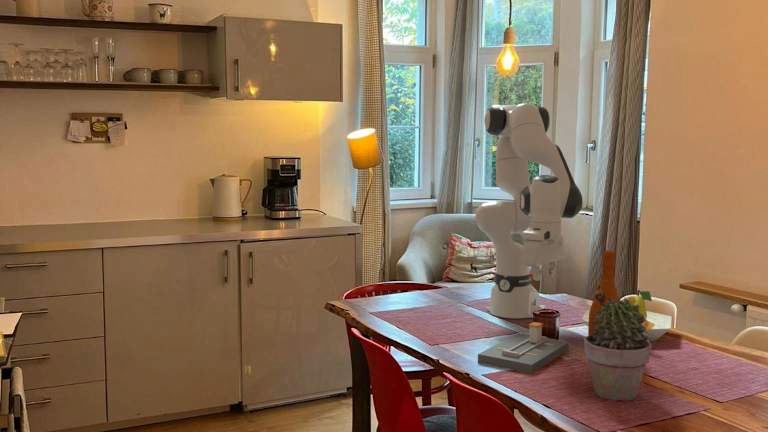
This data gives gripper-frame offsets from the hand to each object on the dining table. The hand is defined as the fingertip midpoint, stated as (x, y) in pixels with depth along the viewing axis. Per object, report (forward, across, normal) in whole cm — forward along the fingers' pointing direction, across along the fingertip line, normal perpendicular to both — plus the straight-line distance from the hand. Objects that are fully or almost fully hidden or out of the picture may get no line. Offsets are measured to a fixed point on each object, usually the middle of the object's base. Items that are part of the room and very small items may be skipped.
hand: (544, 277), depth 226 cm
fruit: (+20, -28, +16) cm, 38 cm away
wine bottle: (+21, -3, +18) cm, 28 cm away
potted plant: (+21, +27, +33) cm, 48 cm away
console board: (+20, +13, +1) cm, 24 cm away
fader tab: (+18, +6, 0) cm, 19 cm away
